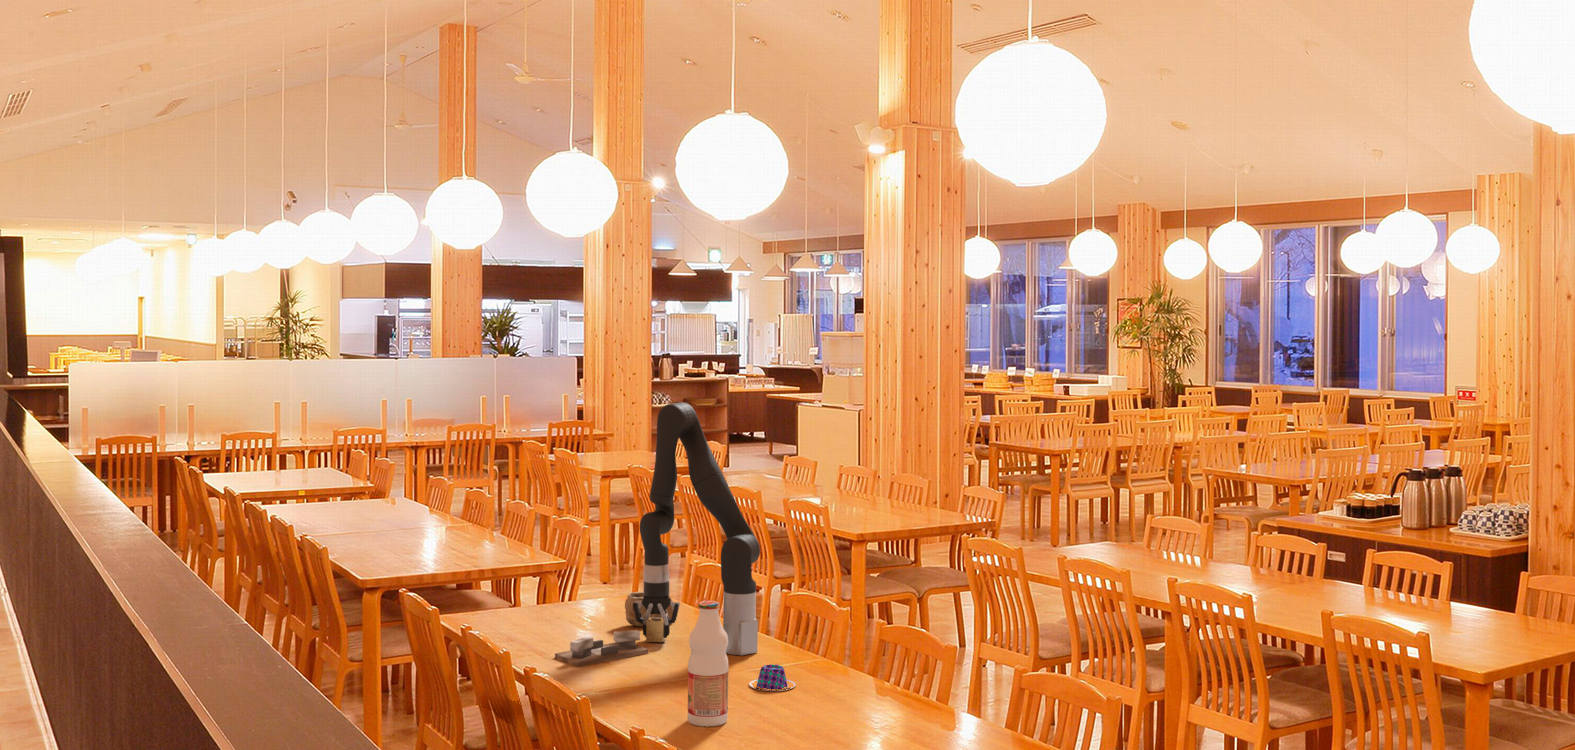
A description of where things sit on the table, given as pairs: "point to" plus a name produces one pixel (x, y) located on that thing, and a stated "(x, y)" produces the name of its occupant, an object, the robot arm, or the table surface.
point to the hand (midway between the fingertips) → (656, 636)
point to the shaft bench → (602, 649)
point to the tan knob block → (655, 629)
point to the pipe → (630, 610)
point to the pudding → (772, 678)
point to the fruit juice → (708, 669)
